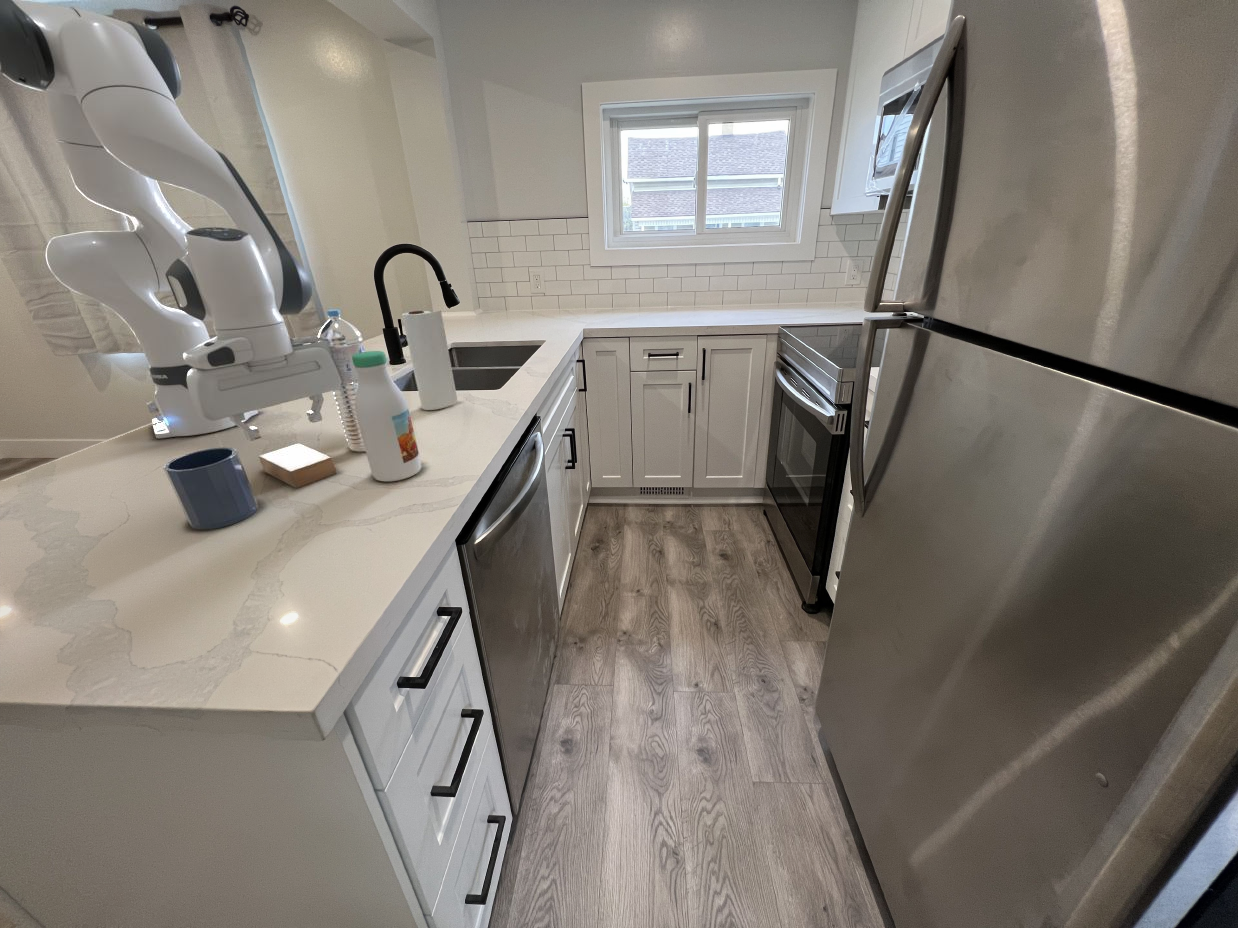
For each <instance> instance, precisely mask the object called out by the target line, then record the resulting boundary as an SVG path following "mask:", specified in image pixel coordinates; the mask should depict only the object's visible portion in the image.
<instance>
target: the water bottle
mask: <svg viewBox="0 0 1238 928" xmlns="http://www.w3.org/2000/svg"><path fill="white" fill-rule="evenodd" d="M340 313H341V312H340V309H329V310H326V314H327V317H328V320H327V321H326V322H325V323H324V325H323V326H322V327H321V329H320V330H319V332H318V335H317V336H318V337H321V338H324V339H325V340H326V341H327V342H328V347H329V348H330V350H331V354H332V359H333V361H334V363H335V365H336V368H337V370H338V372H339V375H340V378H341V381H342V383H341V386H340V388H339V389H337V390H333V391H332V393H333V397H334V401H335V405H336V408H337V411H338V415H339V418H340V421H341V425H342V429H343V433H344V435H345V439H346V442H347V445H348V448H349V450H351V451H352V452H357V453H366V451H365V447H364V443H363V440H362V436H361V432H360V428H359V424H358V420H357V416H356V410H355V398H356V393H357V388H358V372H357V370H355V366H354V364H353V360H352V356H353V355H355V354H357V353H361V352H366V351H365V347H364V343H363V342H364V339H363V335H362V333H361V332H360V331H359V329H357V327H356V326H354V325H353V324H352V323H350V322H348V321H346V320H345V319H342V318H341V314H340ZM319 341H322V340H319ZM319 341H318V342H319Z"/></svg>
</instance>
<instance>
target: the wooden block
mask: <svg viewBox="0 0 1238 928" xmlns="http://www.w3.org/2000/svg"><path fill="white" fill-rule="evenodd" d="M258 458H259V461H260V463H261V466H262V470H263V471H264V473H266V474H268V475H270V476H272V477H274V478H276V479H277V480H280V481H282V482H283V483H285V484H287V485H289V486H291V487H293V488H295V489H299V488H301V487H304V486H307V485H309V484H312V483H314V482H317V481H321V480H322V479H325V478H328V477H331V476H333V475H335V474H337V470H336V467H335V466H336V465H335V463H334V459H333V457H332V456H330V455H327V454H325V453H323V452H320V451H318V450H316V449H313V448H310V447H308V446H307V445H304V444H301V443H299V442H298V443H294V444H292V445H289V446H286V447H283V448H279V449H277V450H273V451H270V452H267V453H266V452H265V453H264V454H260V455H258Z"/></svg>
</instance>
